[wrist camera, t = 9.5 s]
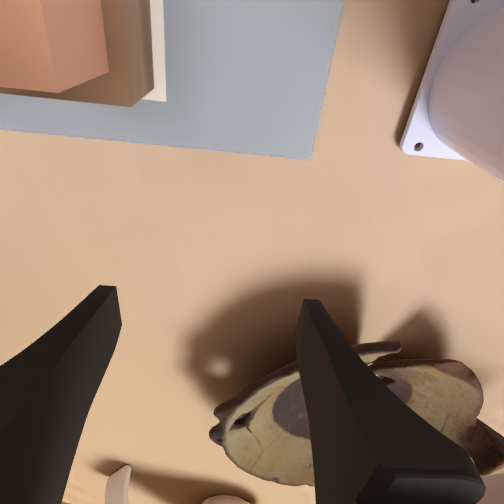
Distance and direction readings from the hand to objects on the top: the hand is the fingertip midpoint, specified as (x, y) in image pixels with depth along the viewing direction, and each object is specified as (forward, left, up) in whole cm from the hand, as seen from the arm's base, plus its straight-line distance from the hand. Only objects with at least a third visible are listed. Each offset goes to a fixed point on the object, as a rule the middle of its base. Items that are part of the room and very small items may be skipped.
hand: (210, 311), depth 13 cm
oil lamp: (-15, +21, -11) cm, 28 cm away
